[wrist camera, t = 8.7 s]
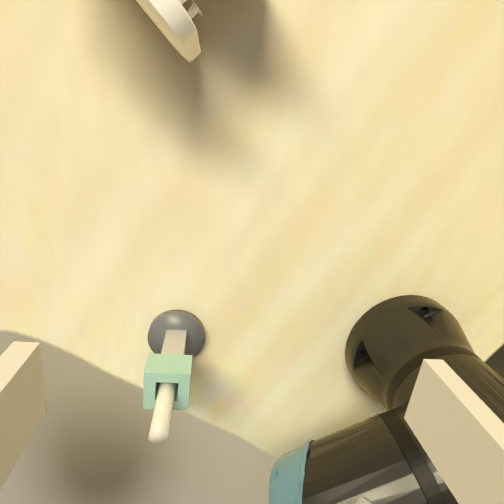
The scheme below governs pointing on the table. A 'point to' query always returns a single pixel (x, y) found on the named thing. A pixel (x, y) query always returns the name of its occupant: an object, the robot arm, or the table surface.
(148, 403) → the sleeve
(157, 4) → the cable organizer
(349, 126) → the table surface
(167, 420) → the post
